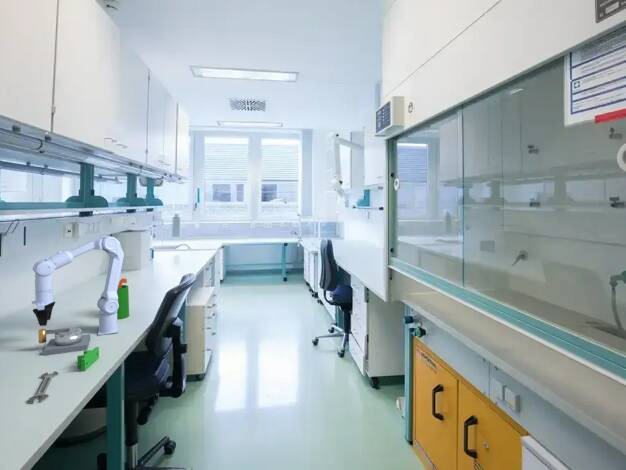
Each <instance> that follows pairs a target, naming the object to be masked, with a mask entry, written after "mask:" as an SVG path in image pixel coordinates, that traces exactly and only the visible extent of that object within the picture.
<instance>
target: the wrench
mask: <svg viewBox="0 0 626 470" xmlns="http://www.w3.org/2000/svg"><path fill="white" fill-rule="evenodd" d="M57 376H59V372H58V371H55V370H54V371H53V373H49V372H45V373H42V374H41V375H40V378H41V379H43V380H42V381H41V384H40V386H39V388H38V390H37V392H36V394H35V395H33V396H30V397H29V398H28V402H29V404H31V405H32V404H34V403H35V401H37V400H39V399H40V402H41V403H43V402H45V401H47V399H49V397H50V396H49V394H48V393H47V390H48V388H49V386H50V384H51V382H52V379H53V378H56V377H57Z"/></svg>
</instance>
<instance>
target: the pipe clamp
mask: <svg viewBox="0 0 626 470" xmlns="http://www.w3.org/2000/svg"><path fill="white" fill-rule="evenodd" d="M76 358H77V359H76V360H77V369H80V370H81V372H86V371H87V370H88V369H90V367H92V365H93V364H94V363H96V362H97V360H99V359H100V346H95V347H94V348H93V349H89V350H88V349H87V350H83V354H80V355H77V357H76Z"/></svg>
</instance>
